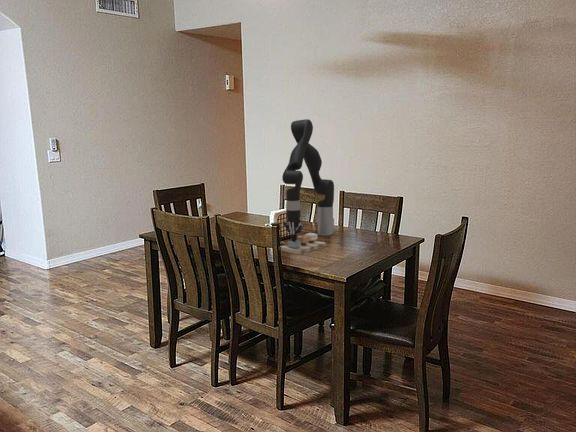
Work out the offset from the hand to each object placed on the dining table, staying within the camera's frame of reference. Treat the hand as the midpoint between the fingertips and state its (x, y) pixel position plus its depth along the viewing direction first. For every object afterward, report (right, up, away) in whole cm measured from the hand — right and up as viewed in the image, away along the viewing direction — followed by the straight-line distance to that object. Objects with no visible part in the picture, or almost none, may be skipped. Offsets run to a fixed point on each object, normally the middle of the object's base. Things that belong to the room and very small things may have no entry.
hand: (294, 240), depth 264 cm
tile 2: (+5, -1, +5) cm, 7 cm away
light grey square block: (+10, 0, +11) cm, 14 cm away
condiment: (-9, -3, +17) cm, 20 cm away
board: (+5, -4, +6) cm, 9 cm away
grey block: (0, -3, +1) cm, 3 cm away
